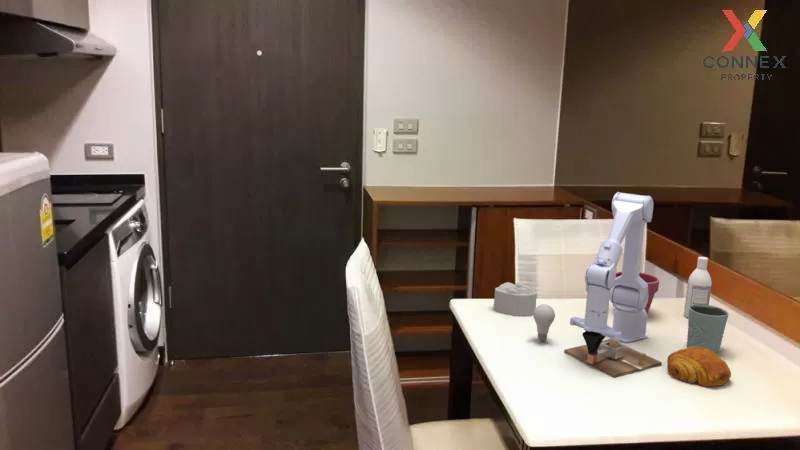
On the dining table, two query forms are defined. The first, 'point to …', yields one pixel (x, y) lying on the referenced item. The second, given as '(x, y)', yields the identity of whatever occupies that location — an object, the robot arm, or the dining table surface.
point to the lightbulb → (543, 320)
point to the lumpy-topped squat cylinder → (515, 299)
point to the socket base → (617, 367)
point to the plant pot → (652, 286)
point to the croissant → (698, 366)
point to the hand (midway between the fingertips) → (592, 357)
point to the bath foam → (698, 286)
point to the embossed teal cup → (706, 327)
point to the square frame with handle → (607, 353)
